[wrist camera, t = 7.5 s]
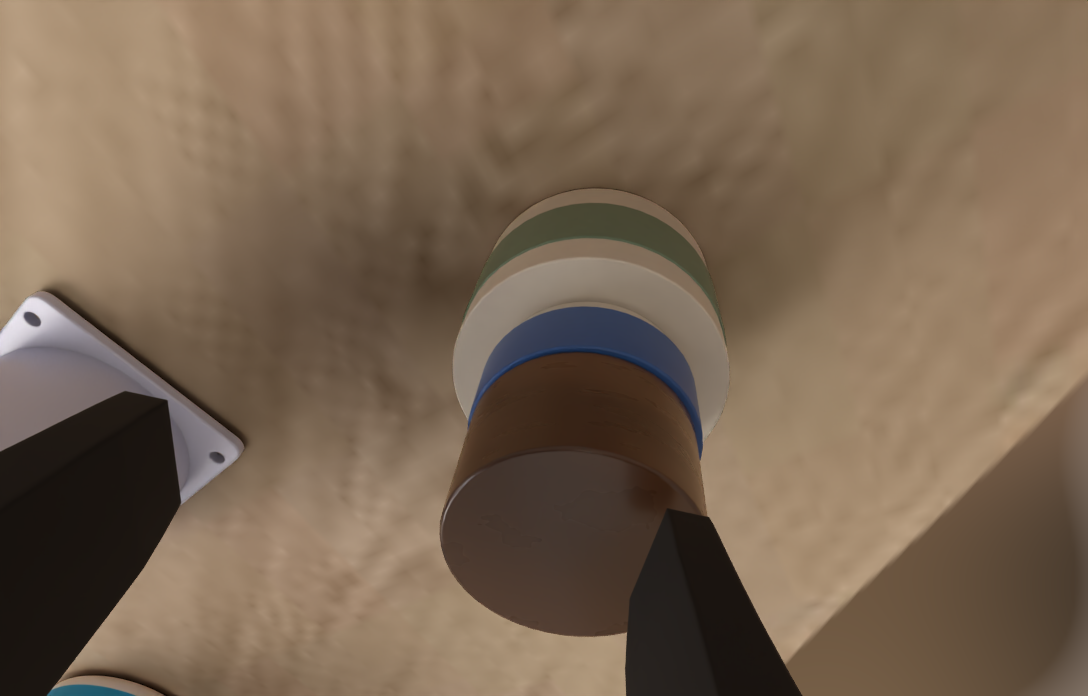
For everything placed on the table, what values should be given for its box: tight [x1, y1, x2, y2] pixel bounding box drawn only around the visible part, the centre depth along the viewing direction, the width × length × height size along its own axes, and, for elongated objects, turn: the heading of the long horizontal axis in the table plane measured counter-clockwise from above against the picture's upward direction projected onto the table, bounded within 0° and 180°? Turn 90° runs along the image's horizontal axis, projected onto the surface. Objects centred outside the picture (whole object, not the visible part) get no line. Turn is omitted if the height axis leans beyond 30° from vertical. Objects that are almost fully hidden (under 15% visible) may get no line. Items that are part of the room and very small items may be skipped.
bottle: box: [452, 188, 730, 459], centre depth 17 cm, size 6×6×7 cm
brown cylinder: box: [440, 352, 707, 637], centre depth 13 cm, size 5×5×3 cm
